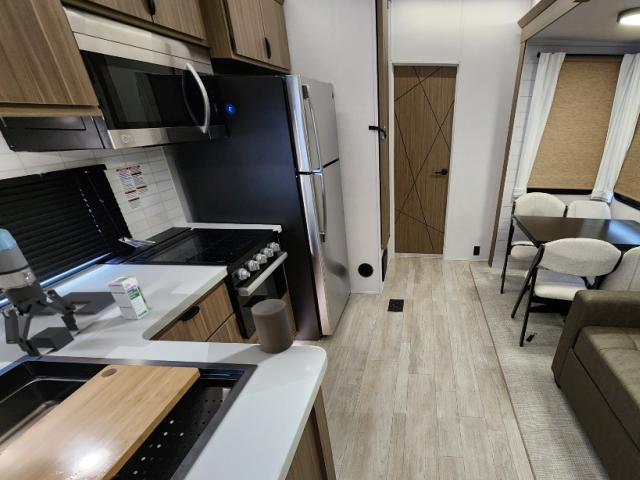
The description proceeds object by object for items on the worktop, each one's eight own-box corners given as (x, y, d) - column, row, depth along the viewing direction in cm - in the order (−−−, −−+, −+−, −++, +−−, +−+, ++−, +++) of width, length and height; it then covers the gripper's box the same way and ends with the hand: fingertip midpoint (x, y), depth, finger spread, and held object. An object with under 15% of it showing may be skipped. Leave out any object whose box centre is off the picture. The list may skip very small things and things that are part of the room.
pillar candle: (295, 348, 102) (286, 306, 94) (261, 357, 98) (250, 313, 91) (291, 332, 109) (283, 292, 102) (259, 339, 106) (249, 298, 99)
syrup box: (138, 320, 118) (122, 283, 111) (123, 319, 118) (106, 282, 111) (150, 311, 123) (135, 276, 116) (136, 311, 123) (120, 275, 116)
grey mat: (35, 318, 119) (32, 312, 118) (73, 297, 133) (70, 292, 132) (96, 317, 119) (93, 311, 118) (128, 296, 133) (125, 291, 132)
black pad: (38, 351, 102) (29, 337, 99) (56, 340, 107) (48, 327, 105) (58, 351, 102) (49, 337, 99) (74, 339, 107) (67, 326, 105)
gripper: (-15, 304, 83) (31, 370, 93) (70, 267, 105) (100, 323, 115) (-45, 305, 83) (4, 370, 93) (46, 267, 105) (78, 323, 115)
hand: (57, 344), depth 104 cm, fingers open, 13 cm apart
